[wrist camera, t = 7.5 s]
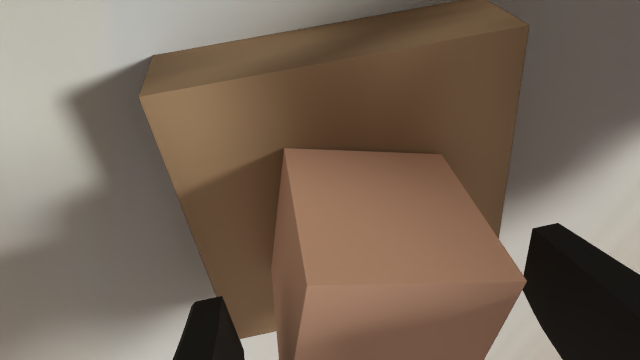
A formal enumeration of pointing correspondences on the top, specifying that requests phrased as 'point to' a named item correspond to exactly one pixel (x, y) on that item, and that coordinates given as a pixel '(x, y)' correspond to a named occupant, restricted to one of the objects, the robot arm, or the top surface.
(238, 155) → the walnut slab
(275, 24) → the top surface
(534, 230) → the robot arm
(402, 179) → the terracotta block
